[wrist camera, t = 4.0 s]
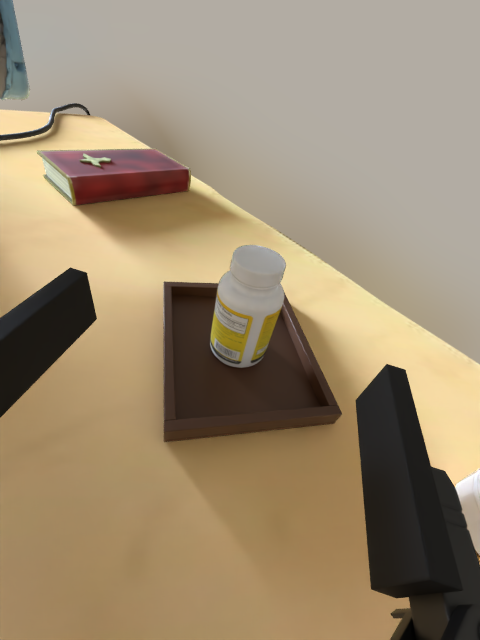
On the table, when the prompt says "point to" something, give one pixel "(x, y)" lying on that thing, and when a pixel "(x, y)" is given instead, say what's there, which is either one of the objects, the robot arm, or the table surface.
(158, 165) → the hardcover book
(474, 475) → the white cup
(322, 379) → the tray
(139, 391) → the table surface
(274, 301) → the supplement bottle
